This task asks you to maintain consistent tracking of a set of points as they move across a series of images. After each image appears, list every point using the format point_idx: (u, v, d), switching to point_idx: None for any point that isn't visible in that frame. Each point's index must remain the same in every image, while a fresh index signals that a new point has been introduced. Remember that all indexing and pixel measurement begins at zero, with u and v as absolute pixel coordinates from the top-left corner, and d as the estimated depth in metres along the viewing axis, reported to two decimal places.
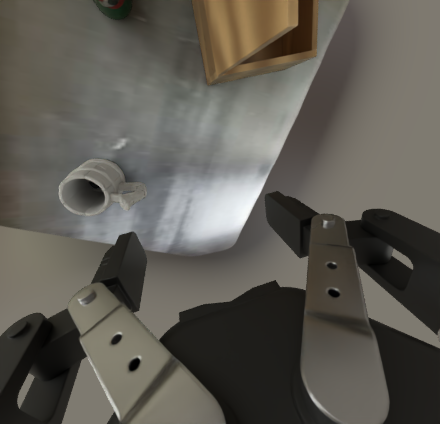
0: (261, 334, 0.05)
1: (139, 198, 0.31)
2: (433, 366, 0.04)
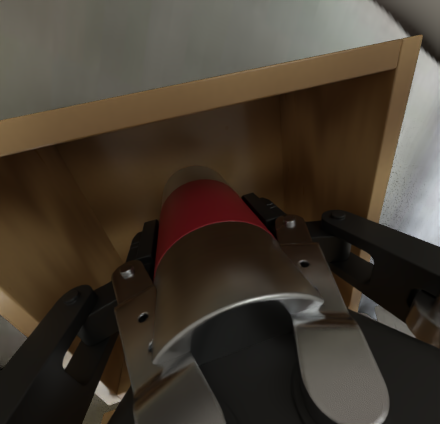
0: None
1: None
2: (433, 366, 0.04)
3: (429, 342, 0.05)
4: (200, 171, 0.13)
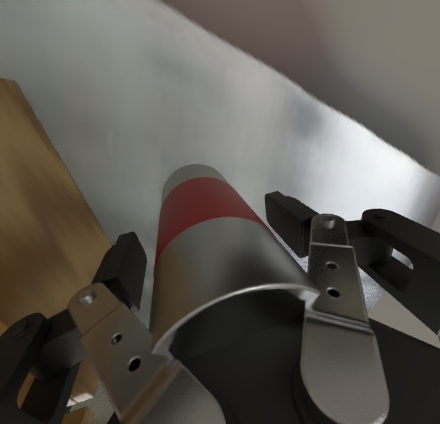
0: (261, 334, 0.05)
1: None
2: (433, 366, 0.04)
3: None
4: (200, 169, 0.13)
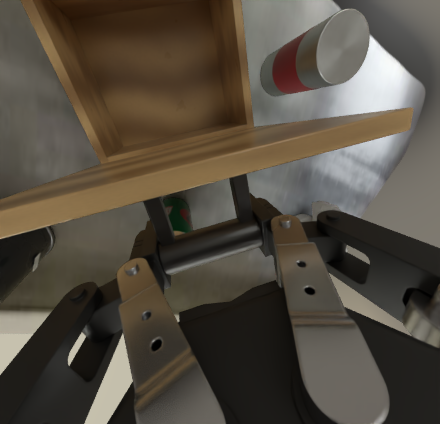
0: (261, 334, 0.05)
1: None
2: (433, 366, 0.04)
3: (426, 341, 0.05)
4: None
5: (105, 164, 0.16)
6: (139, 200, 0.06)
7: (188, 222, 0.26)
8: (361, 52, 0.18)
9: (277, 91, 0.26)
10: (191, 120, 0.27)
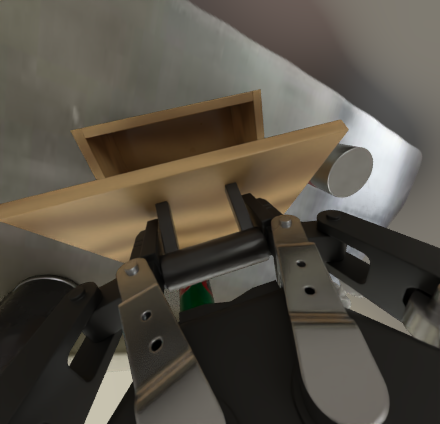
0: (261, 334, 0.05)
1: None
2: (433, 366, 0.04)
3: (426, 341, 0.05)
4: None
5: None
6: (149, 179, 0.09)
7: (209, 291, 0.29)
8: (366, 174, 0.20)
9: None
10: None
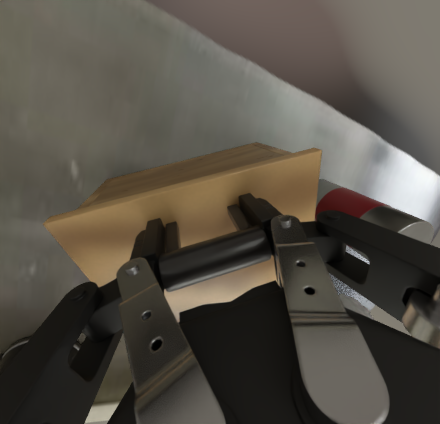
0: (261, 334, 0.05)
1: None
2: (433, 366, 0.04)
3: (426, 341, 0.05)
4: (330, 183, 0.24)
5: None
6: (161, 192, 0.11)
7: None
8: None
9: None
10: None
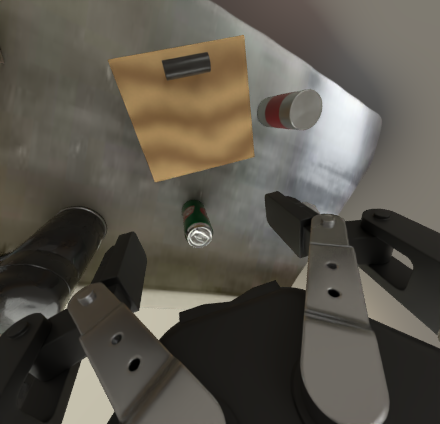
0: (261, 334, 0.05)
1: None
2: (433, 366, 0.04)
3: None
4: None
5: None
6: None
7: (206, 217, 0.37)
8: (318, 111, 0.29)
9: (268, 125, 0.37)
10: None
